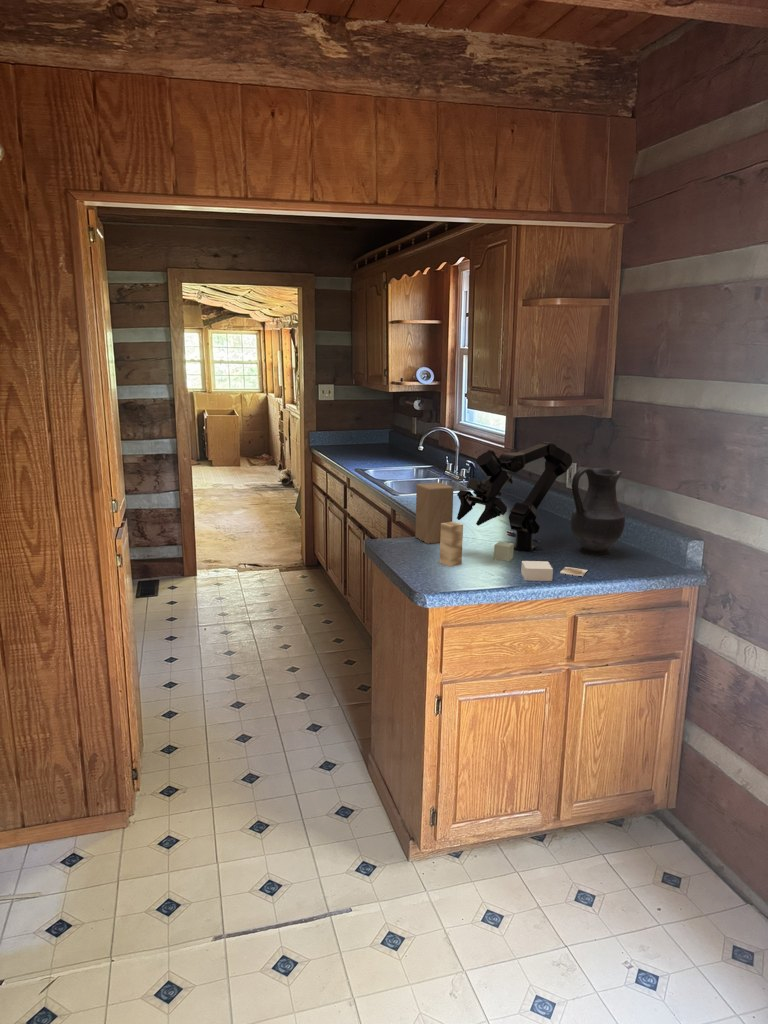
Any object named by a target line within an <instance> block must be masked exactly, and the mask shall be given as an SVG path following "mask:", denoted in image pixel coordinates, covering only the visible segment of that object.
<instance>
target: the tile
mask: <svg viewBox="0 0 768 1024" xmlns="http://www.w3.org/2000/svg"><path fill="white" fill-rule="evenodd" d="M587 571H588V569H583V568H577V567H569V566H565V567H564V568H562V570H560V572H559V574H560V575H565V574H566V575H565V576H572V575H573V577H578V576H582V577H581V578H583V577H584V576H585V575H586V574H587V573H588V572H587ZM586 572H587V573H586ZM585 573H586V574H585Z"/></svg>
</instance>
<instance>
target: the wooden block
mask: <svg viewBox="0 0 768 1024" xmlns="http://www.w3.org/2000/svg"><path fill="white" fill-rule="evenodd" d="M415 491H416V497H415V498H416V499H415V501H416V502H415V534H414V535H415V539H417V538H420V539H421V540H422V541H421V540H420V541H421V542H423V541H424V542H423V543H425V544H426V545H429V544H430V543H431V544H440V535H441V523H447V522H453V515H454V514H453V511H454V510H453V508H454V507H453V506H454V486H452V485H448V484H446V483H442V482H429V483H417V484H416V490H415Z"/></svg>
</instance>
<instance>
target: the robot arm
mask: <svg viewBox="0 0 768 1024" xmlns="http://www.w3.org/2000/svg"><path fill="white" fill-rule="evenodd" d="M541 458H543V459H544V460H545V461H544V471H543V472H542V474H541V475H540V476H539V478H538V480H537V481H536V482H535V484H534V486H533V487H532V489H530V490H531V491H530V492H529V493H528V495H527V497H526V498H525V500H524V501H523V502H515V503H514V505H513V507H512V508H511V510H509V512H510V513H509V515H508V522H509V525H510V529H511V530H513V531H515V543H514V550H517V551H518V550H519V551H525V552H526V551H527V552H531V551H532V550H533V549H535V548H536V545H533V535H536V534H537V533H539V531H540V525H539V524H538V522H537V521H536V519H537V509H538V507H540V505H541V503H542V502H543V500H544V498H545V497H546V495H547V494H548V492H549V490H551V487H552V486H553V485H554V483H555V482H556V480H557V478H558V477H559V476H562V475H563V474H565V473H566V472H567V471H568V470H569V469H570V467H571V466H572V465H573V457H572V455H571V454H570V453H569V452H567V451H565V450H563V449H562V448H560V447H558V446H557V445H556V444H554V443H553V442H547V441H542V442H540V443H538V444H536V445H534V446H531V447H527V448H525V449H523V450H520V451H518V452H504V453H501V454H500V455H499V456H497V455H496V453H495V451H494V450H492V449H488V450H487V451H486V452H484V453H482V454H480V455H478V456H477V458H476V460H475V462H476V464H477V466H478V467H479V468H480V470H481V472H482V473H483V474H484V476H486V477H488V478H487V479H484V478H483V479H482V480H479V479H476V478H471V477H469V479H468V482H467V485H466V488H467V489H470V490H472V492H471V491H470V490H467V489H460V490H459V491H458V492H457V494H456V496H457V497H458V500H459V501H460V506H459V508H458V513H457V516H456V519H457V521H460V520H462V519H463V518H464V517H466V516H467V514H469V513H470V512H471V511H472V510H473V509H474V508H473V507H475V505H477V504H479V505H481V506H485V507H484V510H483V512H482V513H481V515H480V516H479V518H478V519H477V521H476V523H475V525H476V526H478V527H479V526H480V525H483V524H485V523H486V522H488V521H490V520H493V519H495V518H497V517H501V516H504V515H505V514H506V513H507V512H508V506H507V505H506V503H505V502H504V501H503V499H502V498H500V497H501V495H502V493H501V491H502V490H503V488H504V487H505V485H506V484H510V485H512V484H513V482H514V481H513V478H512V477H513V475H511V474H509V473H515V474H516V473H518V472H520V471H521V470H523V469H525V466H526V465H528V464H529V463H533V462H534V461H537V460H540V459H541ZM508 472H509V473H508ZM473 494H474V495H475V496H474V495H473Z"/></svg>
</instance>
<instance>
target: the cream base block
mask: <svg viewBox="0 0 768 1024" xmlns="http://www.w3.org/2000/svg"><path fill="white" fill-rule="evenodd" d="M553 571H554V568H553V566H552V565H551V564H550V562H549V561H541V560H540V561H539V560H537V561H536V560H522V561H521V571H520V573H521V576H522V577H523V579H524V581H535V582H536V581H537V582H540V581H541V582H552V581H553V574H554V573H553Z"/></svg>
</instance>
